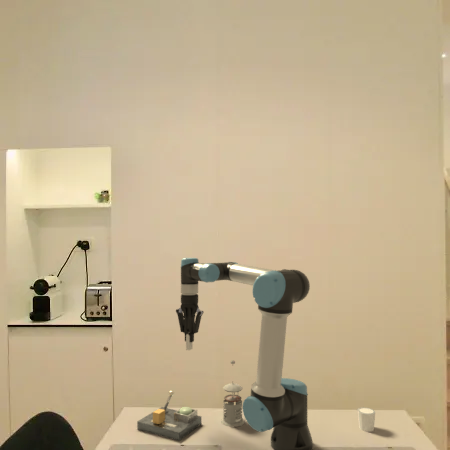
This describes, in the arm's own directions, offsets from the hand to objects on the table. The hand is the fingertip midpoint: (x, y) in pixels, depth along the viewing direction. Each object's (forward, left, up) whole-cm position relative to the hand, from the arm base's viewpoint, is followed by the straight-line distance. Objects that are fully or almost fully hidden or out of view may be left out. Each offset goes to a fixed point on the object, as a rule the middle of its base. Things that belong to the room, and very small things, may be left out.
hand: (189, 349), depth 172 cm
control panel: (+2, +11, -28) cm, 30 cm away
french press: (-18, -6, -29) cm, 34 cm away
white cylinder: (-68, -25, -29) cm, 78 cm away
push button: (-3, +7, -25) cm, 26 cm away
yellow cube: (+4, +15, -25) cm, 30 cm away
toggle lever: (+8, +7, -25) cm, 27 cm away
